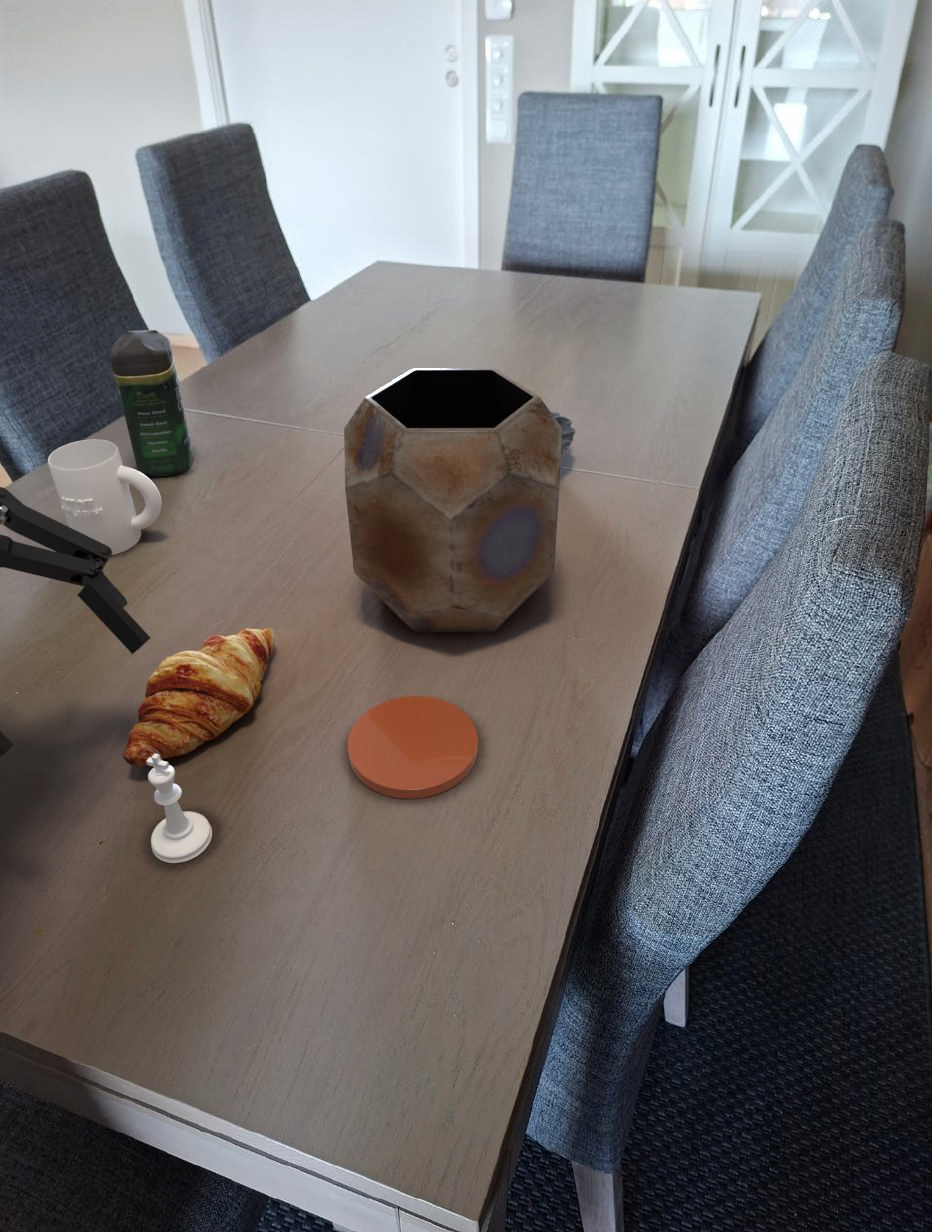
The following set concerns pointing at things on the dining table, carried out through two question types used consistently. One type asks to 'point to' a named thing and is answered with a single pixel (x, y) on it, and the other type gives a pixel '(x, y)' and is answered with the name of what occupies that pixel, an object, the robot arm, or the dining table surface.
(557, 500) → the planter
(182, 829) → the chess piece
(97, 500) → the mug
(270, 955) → the dining table surface
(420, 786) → the orange flat disc
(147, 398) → the coffee jar
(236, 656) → the croissant
